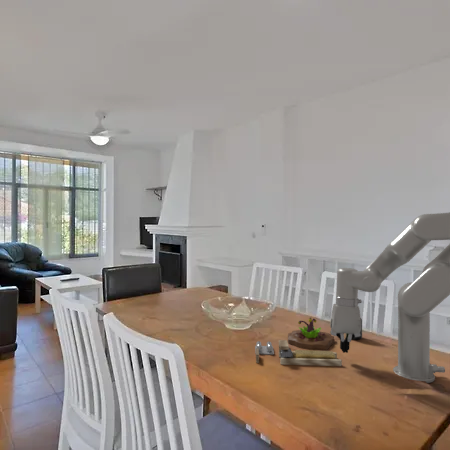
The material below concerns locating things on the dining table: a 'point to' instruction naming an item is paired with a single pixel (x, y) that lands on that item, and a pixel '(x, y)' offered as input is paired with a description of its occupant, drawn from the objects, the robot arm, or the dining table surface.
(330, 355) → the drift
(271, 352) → the v block
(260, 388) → the dining table surface
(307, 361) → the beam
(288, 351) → the dark grey short cylinder
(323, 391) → the dining table surface
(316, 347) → the plant
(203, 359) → the dining table surface
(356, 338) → the supplement bottle
